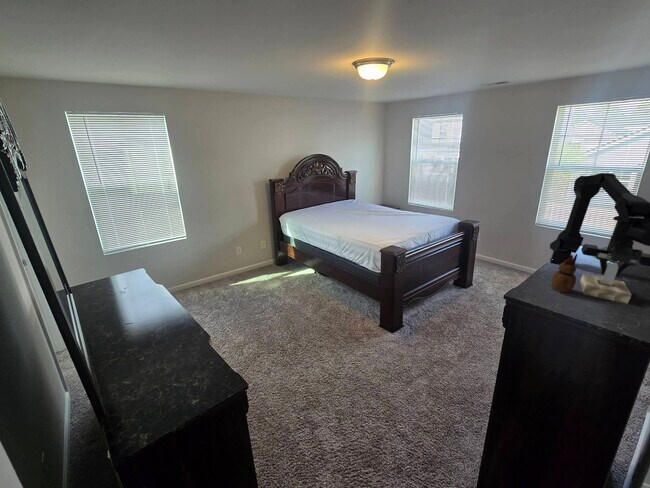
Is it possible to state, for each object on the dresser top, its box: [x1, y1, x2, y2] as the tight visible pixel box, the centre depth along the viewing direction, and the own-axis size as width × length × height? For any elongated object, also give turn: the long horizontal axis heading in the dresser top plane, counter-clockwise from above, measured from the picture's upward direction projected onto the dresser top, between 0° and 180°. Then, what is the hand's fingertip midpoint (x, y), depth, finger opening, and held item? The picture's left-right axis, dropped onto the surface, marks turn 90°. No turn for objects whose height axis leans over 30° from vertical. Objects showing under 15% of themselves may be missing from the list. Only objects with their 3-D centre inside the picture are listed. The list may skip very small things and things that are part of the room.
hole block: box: [579, 273, 632, 305], centre depth 112 cm, size 12×12×4 cm
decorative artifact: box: [592, 246, 617, 263], centre depth 144 cm, size 10×7×10 cm
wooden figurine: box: [551, 253, 578, 294], centre depth 111 cm, size 7×6×15 cm
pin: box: [599, 262, 619, 287], centre depth 110 cm, size 3×3×8 cm
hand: (608, 276), depth 111 cm, fingers closed on pin, 3 cm apart
